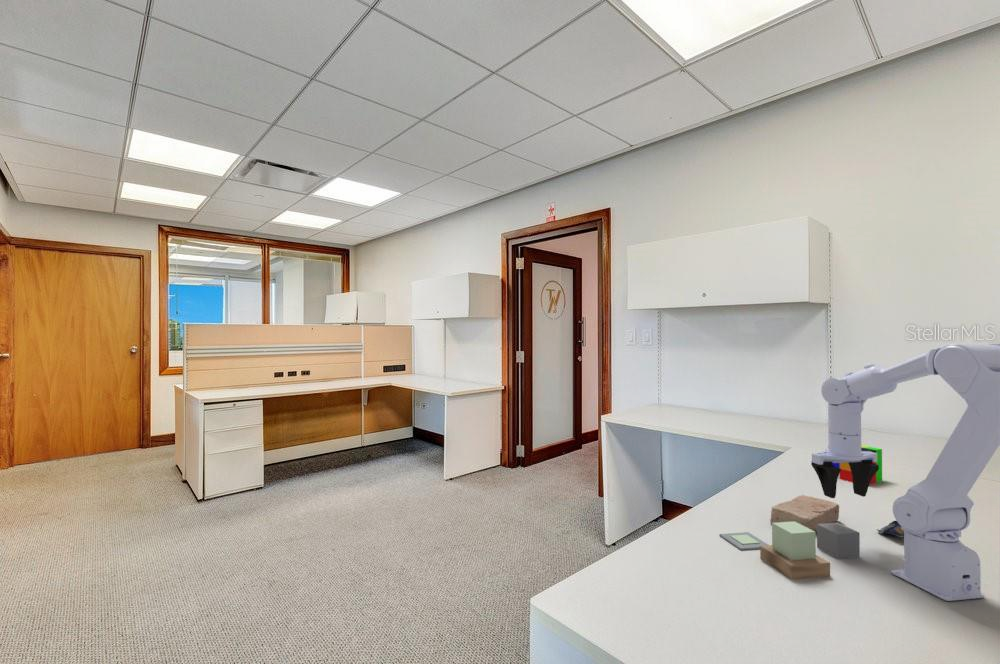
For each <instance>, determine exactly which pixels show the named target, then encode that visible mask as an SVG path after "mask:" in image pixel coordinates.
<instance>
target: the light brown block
mask: <svg viewBox="0 0 1000 664" xmlns="http://www.w3.org/2000/svg"><path fill="white" fill-rule="evenodd" d="M759 550H760V551H759V552H760V554H759V555H760V557H759V558H760V559H761V560H762V561H764V563H766V564H768V565H769V566H771V567H772V568H774V569H776V570H777V571H779V572H780V573H782V574H783V575H784V576H786V577H787V578H789V579H790V580H798V579H799V580H800V579H811V578H815V579H816V578H825V577H831V562H829V561H828V560H826V559H824V558H822V557H821V556H818V554H816V559H803V560H791V559H789V558H787V557H786V556H784V555H783V554H781V553H779V552H778V551H776V550H774V549H773V548H772V544H770V545H769V544H768V545H765V546H760V549H759Z"/></svg>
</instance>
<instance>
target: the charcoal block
mask: <svg viewBox="0 0 1000 664" xmlns="http://www.w3.org/2000/svg"><path fill="white" fill-rule="evenodd" d="M860 537H861V536H860V532H859V531H857V530H855V529H852V528H850V527H848V526H846V525H843V524H841V523H839V522H835V523H825V524H817V531H816V547H817V548H816V549H819V550H821V551H822V552H825V553H826V554H828V555H830V556H832V557H834V558H835V559H838V560H840V559H853V558H854V559H855V558H861V557H860V555H861V554H860V551H861V550H860V548H861V547H860V546H861V545H860V543H861V541H860Z"/></svg>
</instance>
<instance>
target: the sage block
mask: <svg viewBox="0 0 1000 664" xmlns="http://www.w3.org/2000/svg"><path fill="white" fill-rule="evenodd" d="M771 539H772V540H771V541H772V544H771V545H772V548H773V549H774V550H776V551H778V552H779V553H781V554H783V555H784V556H786V557H787V558H789V559H791V560H803V559H816V555H817V554H816V553H817V551H816V549H817V548H816V547H817V535H816V531H813V530H811V529H809V528H807V527H805V526H803V525H801V524H799V523H797V522H795V521H793V522H778V523H772V524H771Z"/></svg>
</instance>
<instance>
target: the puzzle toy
mask: <svg viewBox="0 0 1000 664" xmlns="http://www.w3.org/2000/svg"><path fill="white" fill-rule="evenodd" d="M861 451H870V452H874V453H877V462H873V463H874V464H878V465H879V470H878V471H877V472H876V473H875V475H874V476H873V478H872V480H871V482H870V484H869V485H871V484H875V483H880V482H883V449H882V448H878V447H874V446H873V447H872V446H868V445H863V444H861ZM833 465H834V467H837V468H840V469H841V471H840V473H839V476H838V479H837V480H843V481H846V482H849V483H850V482H851V483H853V478H852V473H851V469H850V466H849V463H848V462H846V463H833Z"/></svg>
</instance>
